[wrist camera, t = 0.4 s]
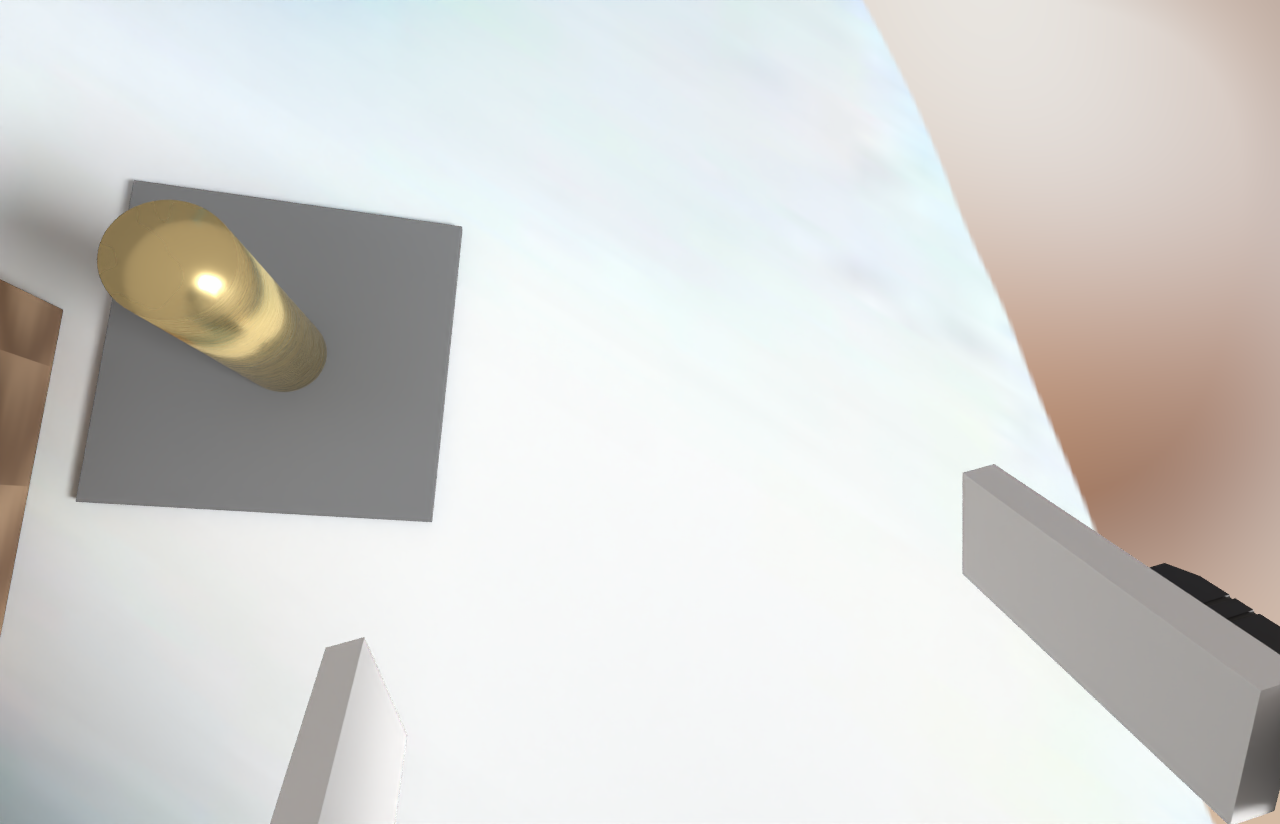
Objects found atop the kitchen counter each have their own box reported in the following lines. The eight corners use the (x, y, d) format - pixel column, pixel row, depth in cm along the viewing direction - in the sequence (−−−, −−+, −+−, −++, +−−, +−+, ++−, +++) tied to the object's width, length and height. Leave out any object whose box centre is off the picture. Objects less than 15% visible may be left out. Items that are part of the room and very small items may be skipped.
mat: (431, 521, 32) (431, 522, 32) (82, 501, 29) (75, 501, 29) (462, 230, 34) (461, 226, 34) (139, 185, 31) (133, 180, 31)
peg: (321, 395, 31) (228, 327, 20) (235, 388, 31) (86, 312, 19) (331, 319, 32) (246, 209, 20) (247, 310, 31) (109, 191, 20)
